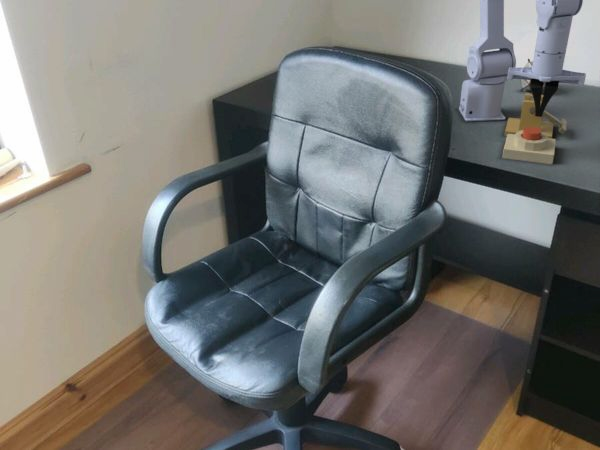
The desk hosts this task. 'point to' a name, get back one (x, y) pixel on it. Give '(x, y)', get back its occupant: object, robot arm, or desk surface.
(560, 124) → the lever
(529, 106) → the bracket
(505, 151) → the control block
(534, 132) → the button
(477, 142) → the desk surface
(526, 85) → the game die
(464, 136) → the desk surface
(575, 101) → the desk surface
